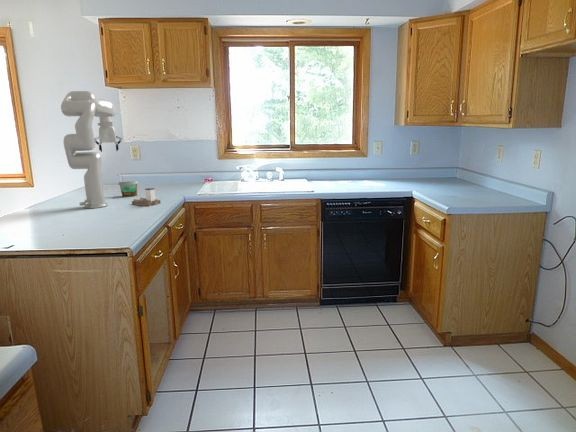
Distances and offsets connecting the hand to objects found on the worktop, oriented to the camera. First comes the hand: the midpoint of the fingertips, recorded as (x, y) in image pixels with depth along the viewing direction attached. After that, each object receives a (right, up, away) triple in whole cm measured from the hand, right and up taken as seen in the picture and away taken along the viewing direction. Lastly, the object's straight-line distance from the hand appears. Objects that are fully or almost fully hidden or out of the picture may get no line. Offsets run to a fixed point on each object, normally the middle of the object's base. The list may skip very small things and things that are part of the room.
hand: (109, 151), depth 277 cm
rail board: (+34, -36, -27) cm, 56 cm away
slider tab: (+37, -34, -29) cm, 58 cm away
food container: (+13, -30, 0) cm, 33 cm away
